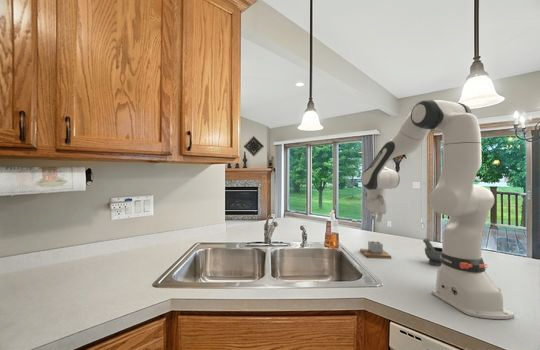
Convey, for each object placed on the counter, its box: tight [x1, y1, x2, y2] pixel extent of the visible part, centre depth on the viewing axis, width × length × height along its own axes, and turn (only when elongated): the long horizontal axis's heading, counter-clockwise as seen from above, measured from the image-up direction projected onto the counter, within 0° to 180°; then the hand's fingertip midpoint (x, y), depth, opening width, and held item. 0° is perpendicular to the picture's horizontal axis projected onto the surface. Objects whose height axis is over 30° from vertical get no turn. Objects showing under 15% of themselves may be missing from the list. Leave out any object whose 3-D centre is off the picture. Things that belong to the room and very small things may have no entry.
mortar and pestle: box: [422, 237, 442, 267], centre depth 125 cm, size 11×9×12 cm
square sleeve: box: [367, 240, 384, 254], centre depth 139 cm, size 6×6×5 cm
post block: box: [359, 241, 392, 259], centre depth 139 cm, size 12×12×6 cm
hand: (375, 220), depth 139 cm, fingers open, 8 cm apart
